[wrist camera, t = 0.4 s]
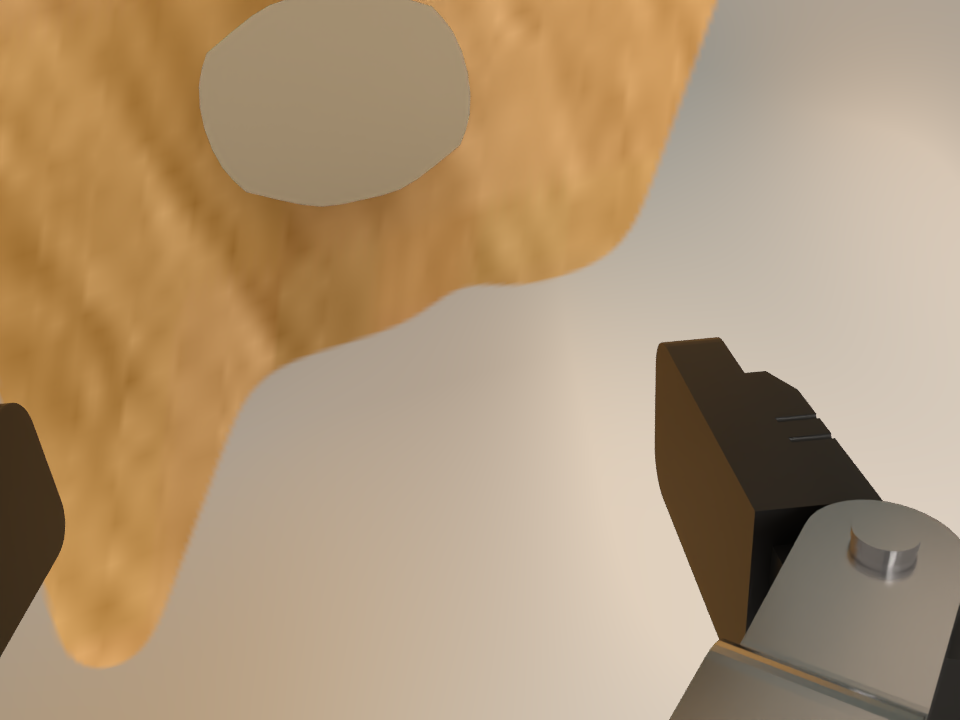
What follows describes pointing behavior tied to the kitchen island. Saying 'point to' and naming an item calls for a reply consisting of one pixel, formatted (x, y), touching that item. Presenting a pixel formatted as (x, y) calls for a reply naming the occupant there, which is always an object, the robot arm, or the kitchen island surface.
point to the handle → (334, 99)
